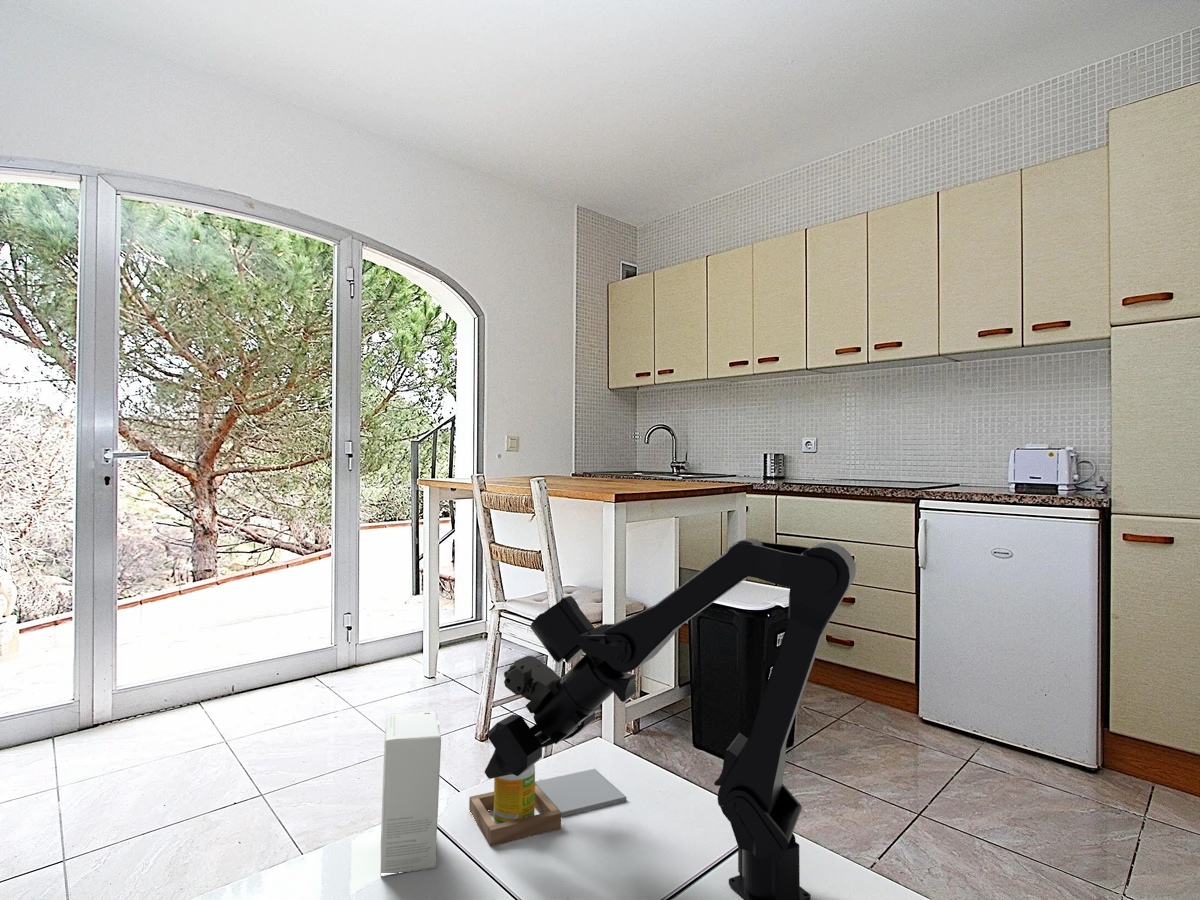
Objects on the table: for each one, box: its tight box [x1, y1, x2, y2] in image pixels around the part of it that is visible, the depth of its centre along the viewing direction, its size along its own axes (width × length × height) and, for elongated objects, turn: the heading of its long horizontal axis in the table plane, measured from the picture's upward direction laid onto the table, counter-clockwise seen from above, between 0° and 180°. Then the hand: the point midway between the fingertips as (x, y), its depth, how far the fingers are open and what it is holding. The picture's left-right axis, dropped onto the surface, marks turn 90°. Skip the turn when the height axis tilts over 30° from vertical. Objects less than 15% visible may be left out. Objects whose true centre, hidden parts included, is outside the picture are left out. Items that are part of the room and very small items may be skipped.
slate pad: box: [535, 768, 627, 818], centre depth 95 cm, size 10×10×1 cm
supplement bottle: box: [493, 764, 536, 824], centre depth 87 cm, size 5×5×10 cm
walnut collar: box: [468, 784, 562, 848], centre depth 87 cm, size 10×10×2 cm
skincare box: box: [380, 710, 442, 874], centre depth 79 cm, size 8×7×16 cm
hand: (507, 761), depth 88 cm, fingers open, 9 cm apart
